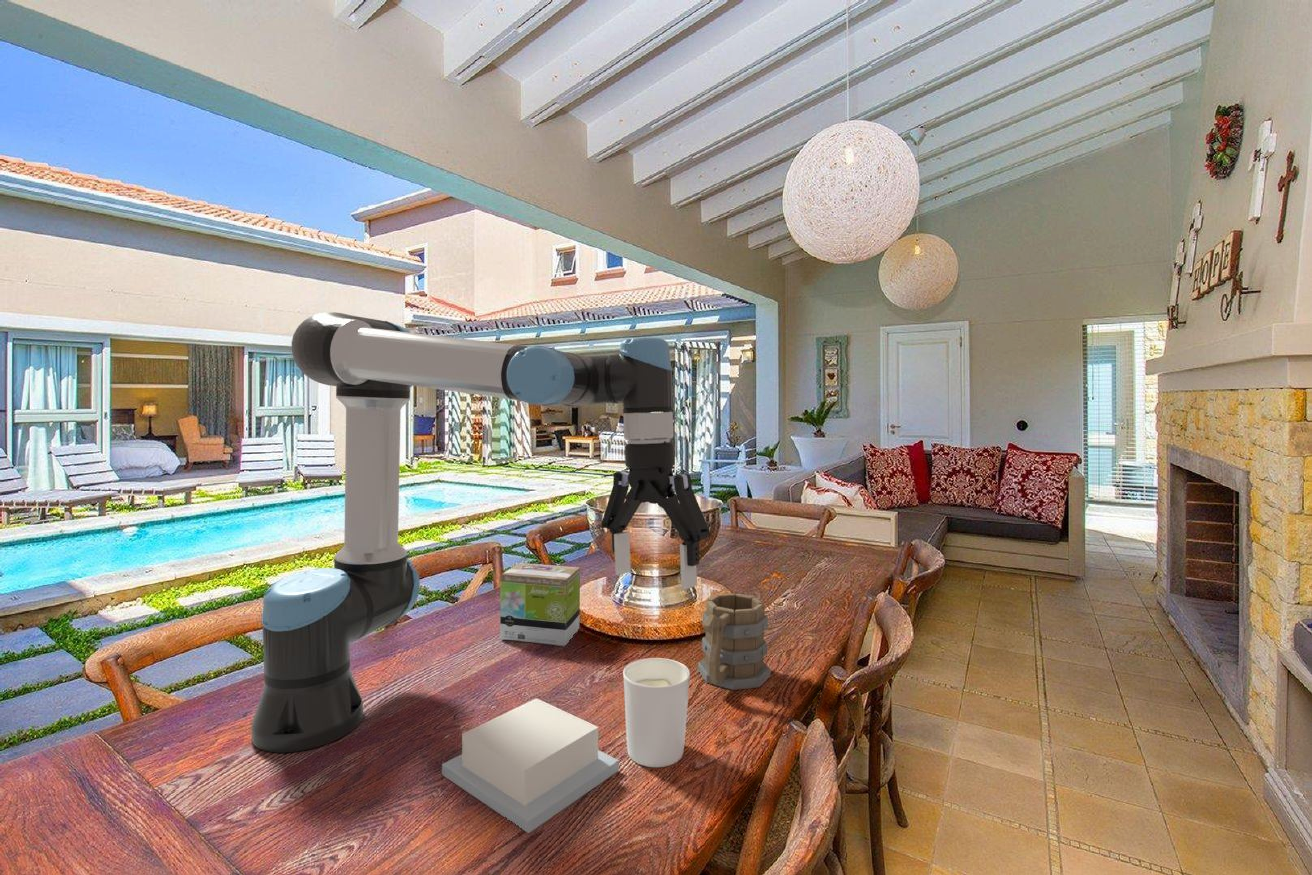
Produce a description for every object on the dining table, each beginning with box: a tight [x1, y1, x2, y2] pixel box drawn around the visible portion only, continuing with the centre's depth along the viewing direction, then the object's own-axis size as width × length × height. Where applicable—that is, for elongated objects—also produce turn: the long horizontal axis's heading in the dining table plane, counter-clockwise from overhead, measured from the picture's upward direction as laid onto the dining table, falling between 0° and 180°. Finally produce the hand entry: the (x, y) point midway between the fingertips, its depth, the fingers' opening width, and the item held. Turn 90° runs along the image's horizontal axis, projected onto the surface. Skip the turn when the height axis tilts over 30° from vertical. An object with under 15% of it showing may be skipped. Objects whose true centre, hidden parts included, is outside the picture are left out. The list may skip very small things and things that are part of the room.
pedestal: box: [441, 697, 620, 834], centre depth 84 cm, size 18×16×6 cm
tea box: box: [499, 562, 581, 647], centre depth 133 cm, size 15×10×15 cm
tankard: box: [697, 592, 771, 691], centre depth 112 cm, size 20×13×15 cm, turn 149°
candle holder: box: [622, 657, 691, 768], centre depth 89 cm, size 10×10×12 cm
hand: (654, 580), depth 93 cm, fingers open, 13 cm apart
